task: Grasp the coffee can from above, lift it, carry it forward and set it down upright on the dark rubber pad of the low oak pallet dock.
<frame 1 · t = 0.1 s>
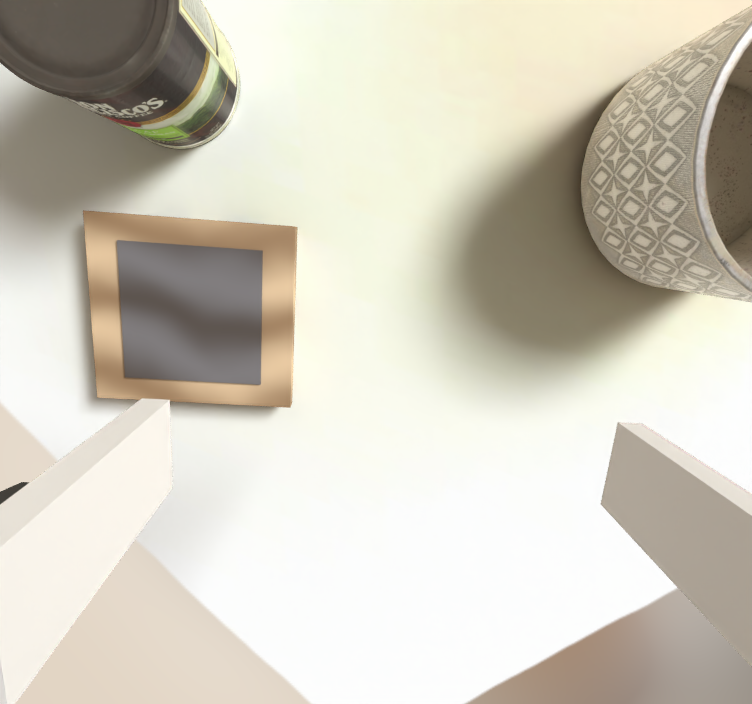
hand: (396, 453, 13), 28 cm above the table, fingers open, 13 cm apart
planter: (678, 177, 39), on the table
coffee can: (175, 78, 36), on the table
dock: (204, 309, 40), on the table
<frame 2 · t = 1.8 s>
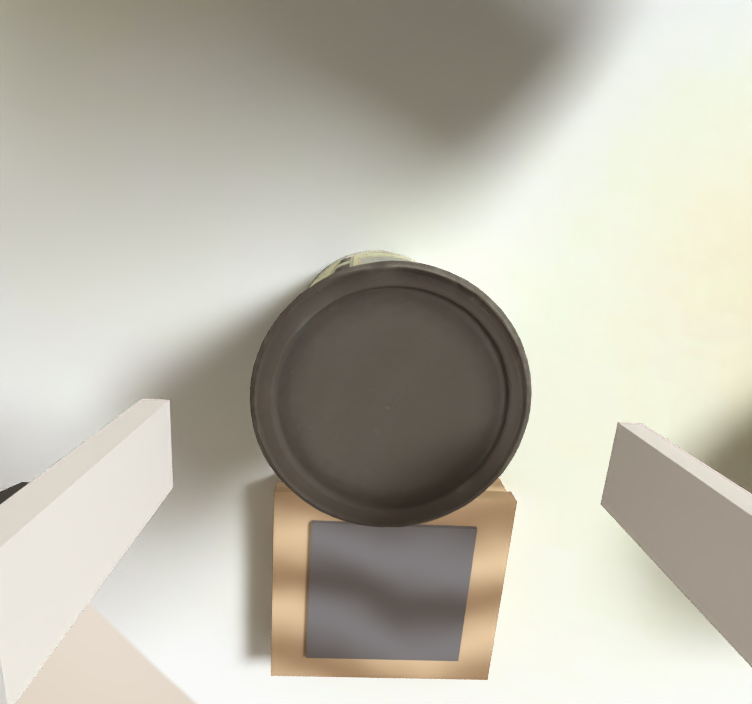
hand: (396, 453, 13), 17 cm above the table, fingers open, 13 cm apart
coffee can: (376, 327, 30), on the table
dock: (385, 562, 35), on the table
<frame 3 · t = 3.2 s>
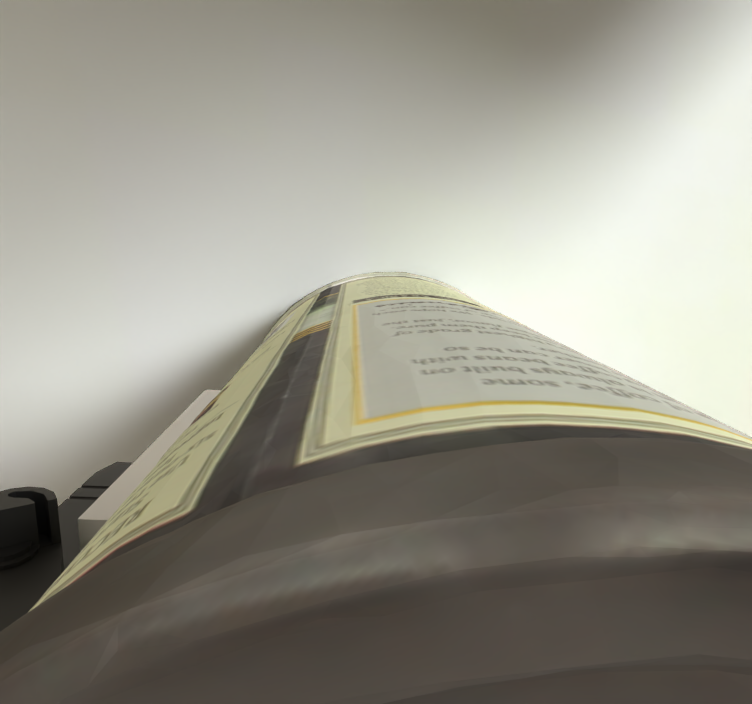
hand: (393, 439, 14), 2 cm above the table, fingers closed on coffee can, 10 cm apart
coffee can: (388, 410, 17), on the table, touching gripper
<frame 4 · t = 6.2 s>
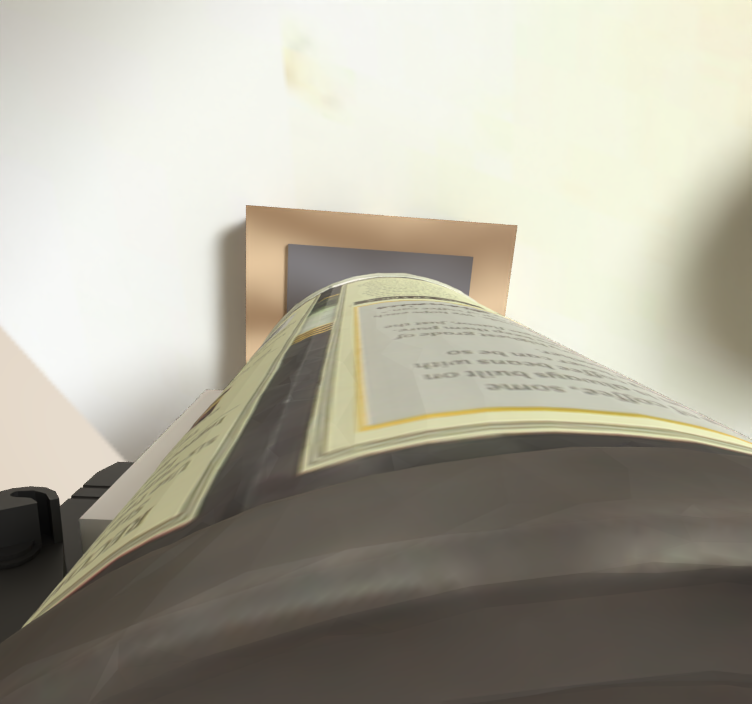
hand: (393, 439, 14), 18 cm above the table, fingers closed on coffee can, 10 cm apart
coffee can: (389, 411, 17), point 15 cm above the table, touching gripper
dock: (373, 330, 32), on the table
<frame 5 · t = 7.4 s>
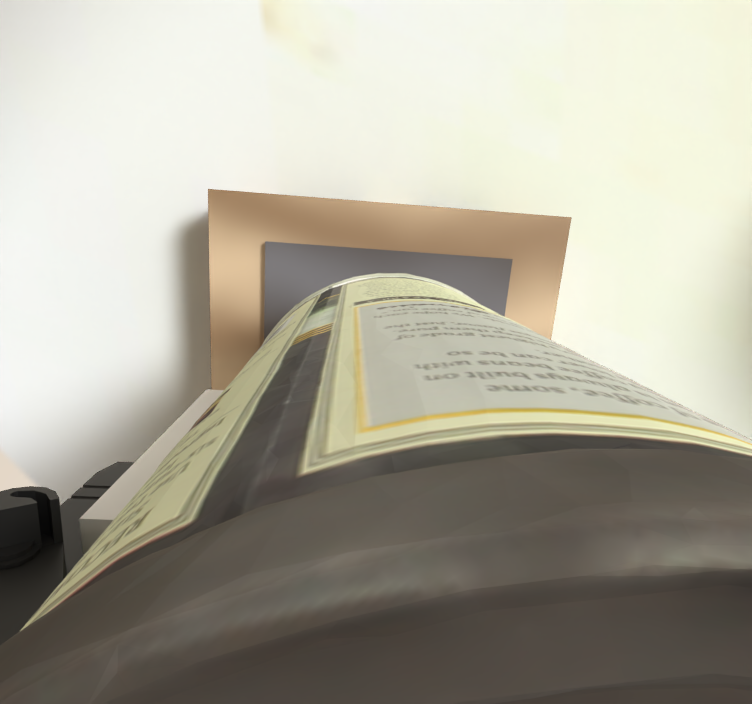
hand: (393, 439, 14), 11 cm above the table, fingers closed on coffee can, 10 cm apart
coffee can: (389, 411, 17), point 8 cm above the table, touching gripper
dock: (378, 352, 25), on the table
when the fingers open (7 cm above the table, at t = 8.7 s): coffee can drops 1 cm, resting on dock.
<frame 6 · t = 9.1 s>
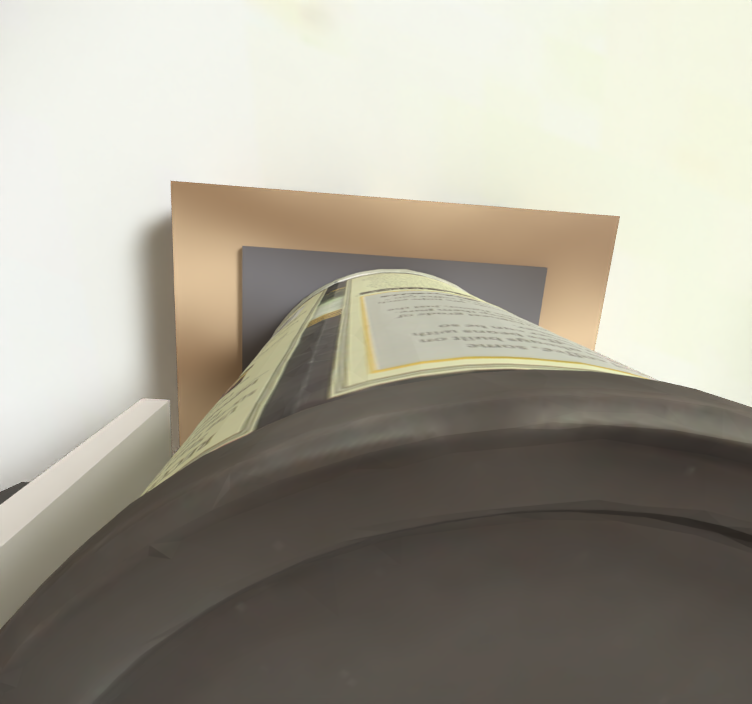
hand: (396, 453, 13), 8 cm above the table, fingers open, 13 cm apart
coffee can: (390, 399, 18), point 3 cm above the table, touching dock
dock: (381, 376, 21), on the table
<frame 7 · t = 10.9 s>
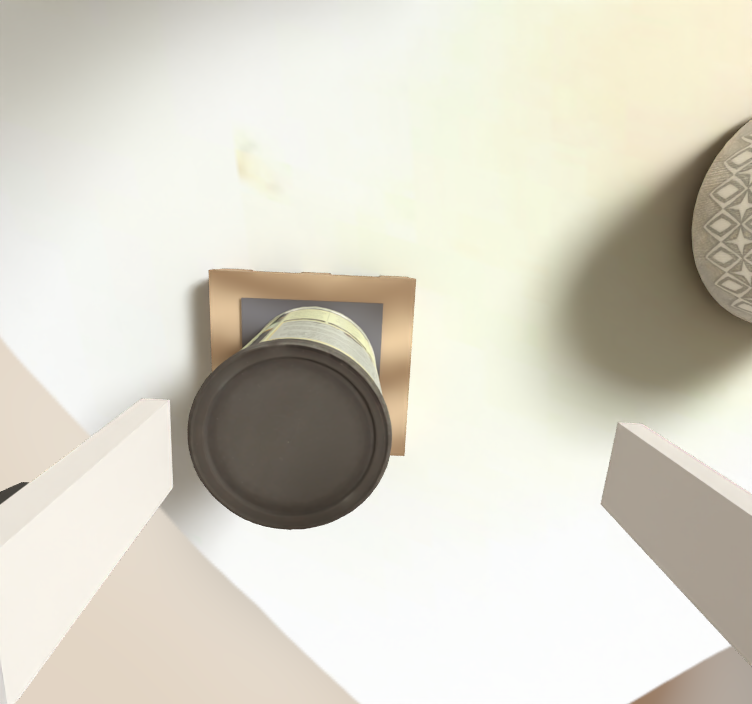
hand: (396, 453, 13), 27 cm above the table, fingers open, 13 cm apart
coffee can: (314, 367, 37), point 3 cm above the table, touching dock
dock: (315, 359, 40), on the table
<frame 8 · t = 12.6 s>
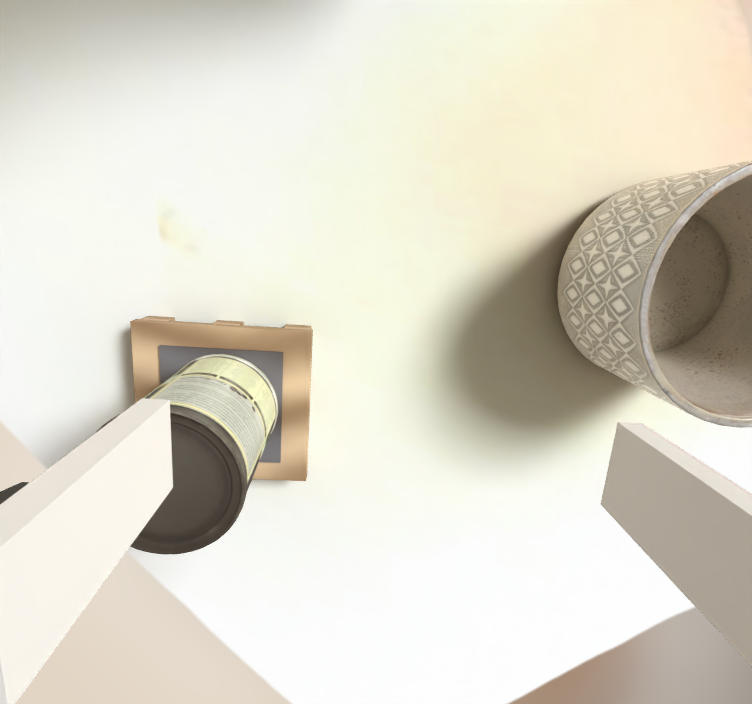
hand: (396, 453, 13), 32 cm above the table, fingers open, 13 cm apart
planter: (642, 280, 45), on the table
coffee can: (224, 405, 43), point 3 cm above the table, touching dock
dock: (231, 394, 46), on the table
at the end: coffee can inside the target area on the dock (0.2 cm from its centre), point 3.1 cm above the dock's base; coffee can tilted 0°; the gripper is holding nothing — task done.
